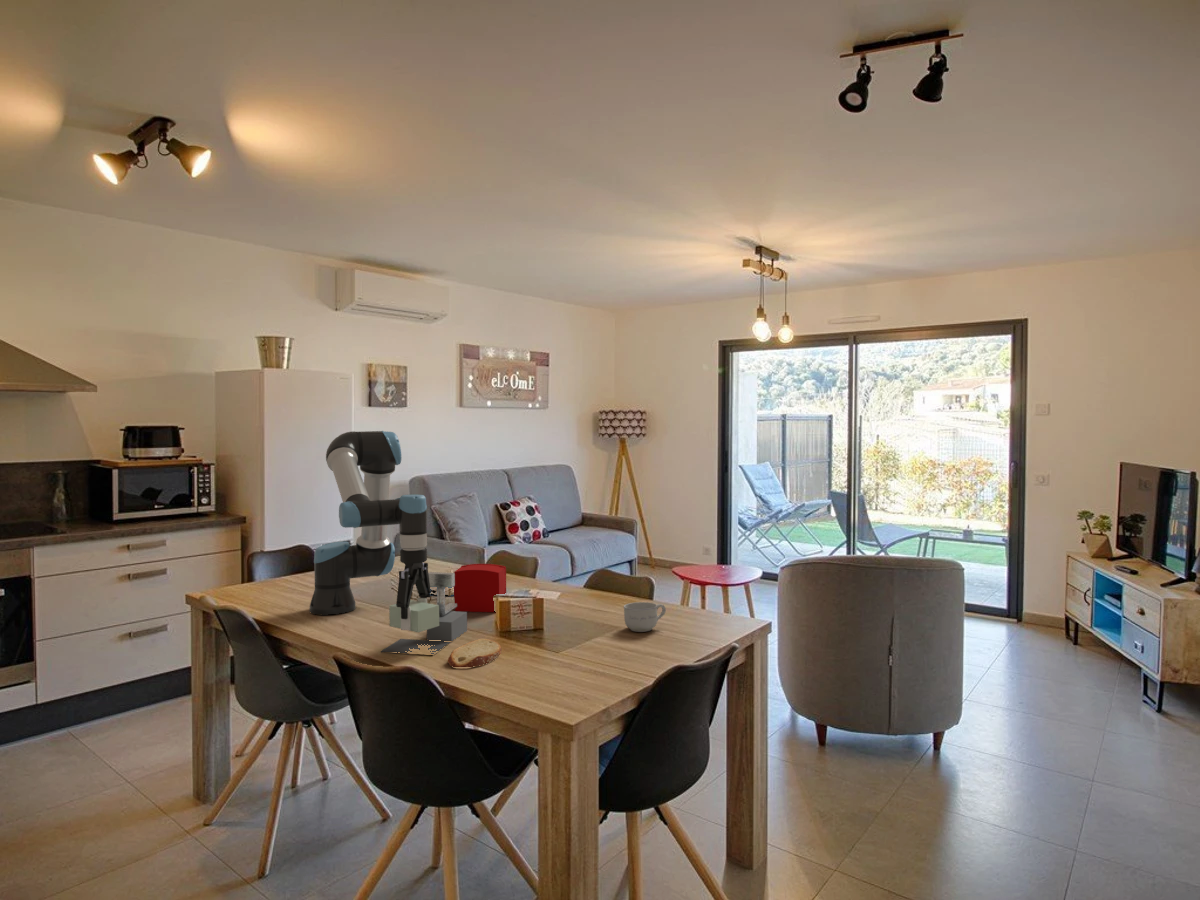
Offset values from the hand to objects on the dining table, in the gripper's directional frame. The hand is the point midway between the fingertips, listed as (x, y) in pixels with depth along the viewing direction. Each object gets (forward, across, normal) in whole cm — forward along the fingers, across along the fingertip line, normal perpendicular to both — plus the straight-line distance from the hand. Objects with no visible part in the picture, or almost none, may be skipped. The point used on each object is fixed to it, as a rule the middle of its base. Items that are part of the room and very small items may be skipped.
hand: (414, 624), depth 207 cm
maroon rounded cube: (+7, -47, +2) cm, 48 cm away
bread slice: (+8, +3, +20) cm, 21 cm away
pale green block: (0, 0, 0) cm, 0 cm away
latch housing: (+7, -14, +4) cm, 16 cm away
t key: (+1, -18, +2) cm, 19 cm away
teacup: (+8, -33, +63) cm, 71 cm away
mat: (+7, -1, 0) cm, 7 cm away
